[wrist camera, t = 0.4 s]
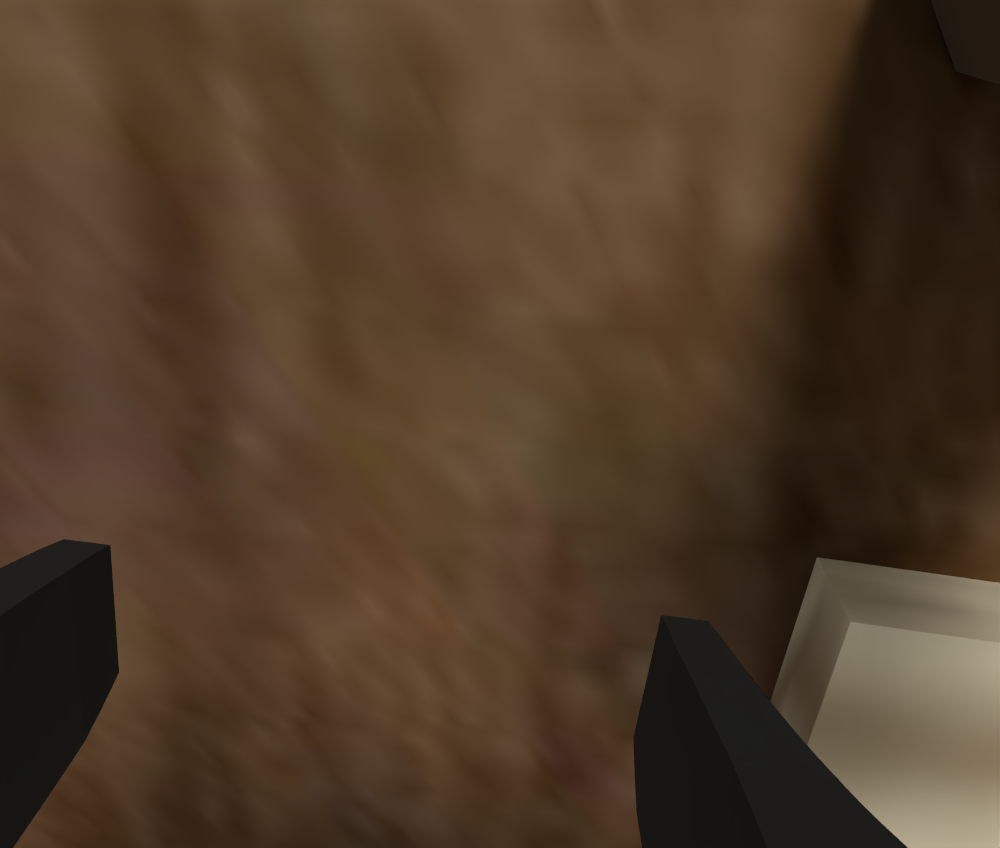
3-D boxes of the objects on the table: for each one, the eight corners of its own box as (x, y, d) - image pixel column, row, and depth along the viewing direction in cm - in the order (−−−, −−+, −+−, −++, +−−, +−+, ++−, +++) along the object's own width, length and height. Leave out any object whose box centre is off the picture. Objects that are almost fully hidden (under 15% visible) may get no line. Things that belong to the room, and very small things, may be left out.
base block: (990, 794, 25) (1044, 887, 22) (746, 760, 25) (770, 849, 22) (1088, 588, 22) (1164, 665, 20) (813, 550, 22) (850, 621, 19)
